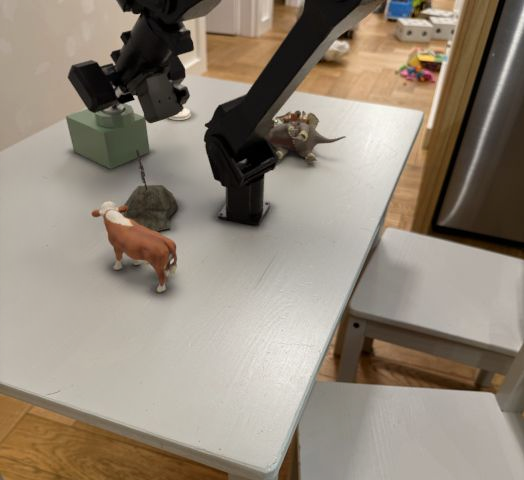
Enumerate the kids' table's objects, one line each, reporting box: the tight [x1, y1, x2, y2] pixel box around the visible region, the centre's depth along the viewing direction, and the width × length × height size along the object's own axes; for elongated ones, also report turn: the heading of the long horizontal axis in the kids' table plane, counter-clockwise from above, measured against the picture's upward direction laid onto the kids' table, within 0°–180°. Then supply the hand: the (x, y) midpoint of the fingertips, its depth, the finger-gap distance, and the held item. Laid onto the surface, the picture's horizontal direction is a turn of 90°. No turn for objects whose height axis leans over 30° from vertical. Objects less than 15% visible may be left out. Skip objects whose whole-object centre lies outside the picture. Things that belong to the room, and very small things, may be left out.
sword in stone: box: [123, 148, 179, 232], centre depth 71 cm, size 10×8×12 cm
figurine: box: [267, 110, 347, 164], centre depth 92 cm, size 20×6×17 cm
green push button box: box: [65, 103, 150, 170], centre depth 86 cm, size 11×9×8 cm
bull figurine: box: [91, 201, 178, 293], centre depth 62 cm, size 4×13×8 cm, turn 51°
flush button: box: [103, 104, 124, 114], centre depth 83 cm, size 3×3×2 cm
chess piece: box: [168, 107, 192, 121], centre depth 99 cm, size 5×5×10 cm
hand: (112, 105), depth 82 cm, fingers closed, pressing on flush button
